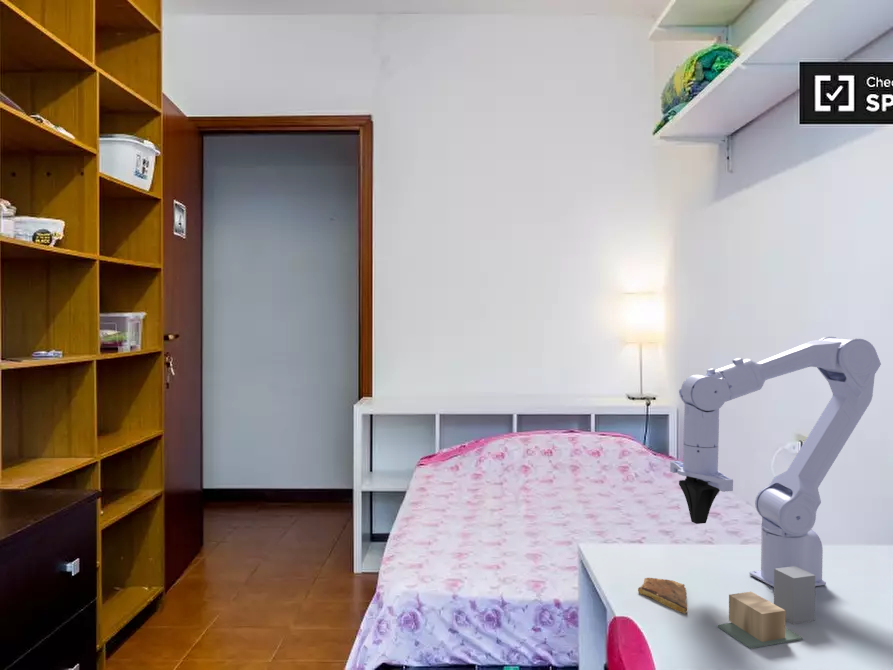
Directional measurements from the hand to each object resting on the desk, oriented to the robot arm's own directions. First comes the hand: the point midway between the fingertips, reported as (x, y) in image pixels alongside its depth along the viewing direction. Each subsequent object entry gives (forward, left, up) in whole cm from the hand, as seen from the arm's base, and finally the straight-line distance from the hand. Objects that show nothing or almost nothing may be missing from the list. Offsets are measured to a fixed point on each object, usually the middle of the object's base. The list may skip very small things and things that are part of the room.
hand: (698, 522), depth 121 cm
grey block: (-5, +16, -11) cm, 20 cm away
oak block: (+4, +15, -8) cm, 17 cm away
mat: (+4, +19, -10) cm, 22 cm away
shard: (+8, +4, -11) cm, 14 cm away
